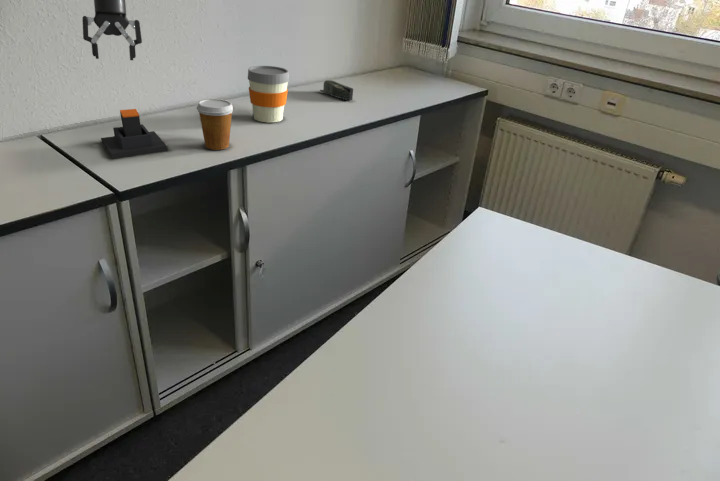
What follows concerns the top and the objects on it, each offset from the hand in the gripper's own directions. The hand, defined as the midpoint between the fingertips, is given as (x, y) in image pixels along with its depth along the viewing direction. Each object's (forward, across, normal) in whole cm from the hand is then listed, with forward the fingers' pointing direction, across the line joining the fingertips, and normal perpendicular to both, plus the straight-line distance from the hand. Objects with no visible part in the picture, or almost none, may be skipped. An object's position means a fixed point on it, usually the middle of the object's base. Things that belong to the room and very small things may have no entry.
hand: (114, 59), depth 146 cm
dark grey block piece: (+10, -75, -20) cm, 78 cm away
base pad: (+22, -3, +12) cm, 25 cm away
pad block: (+20, -2, +12) cm, 23 cm away
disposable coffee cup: (+21, -24, +16) cm, 36 cm away
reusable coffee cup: (+16, -44, -2) cm, 47 cm away
